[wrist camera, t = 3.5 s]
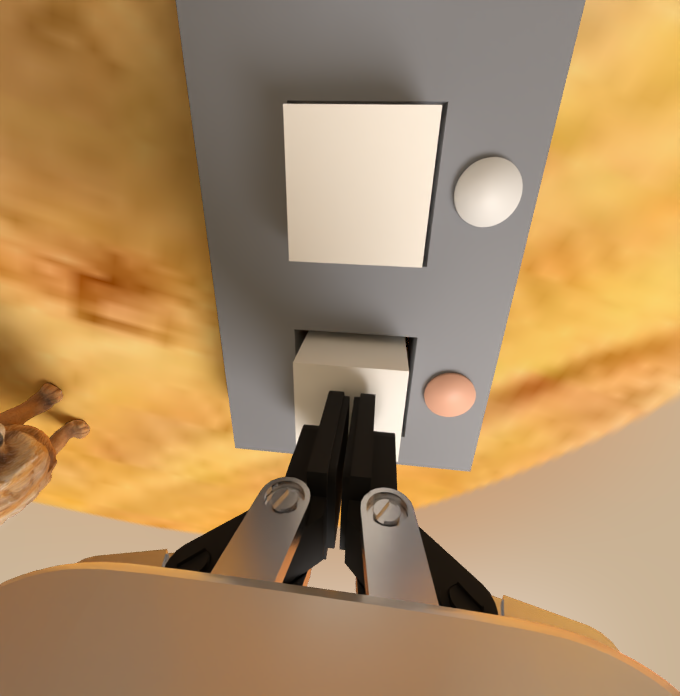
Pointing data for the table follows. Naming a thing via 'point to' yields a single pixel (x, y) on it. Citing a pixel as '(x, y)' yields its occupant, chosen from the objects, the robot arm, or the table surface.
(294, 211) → the middle button
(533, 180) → the button board
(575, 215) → the table surface
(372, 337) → the outer button
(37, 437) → the lion figurine
